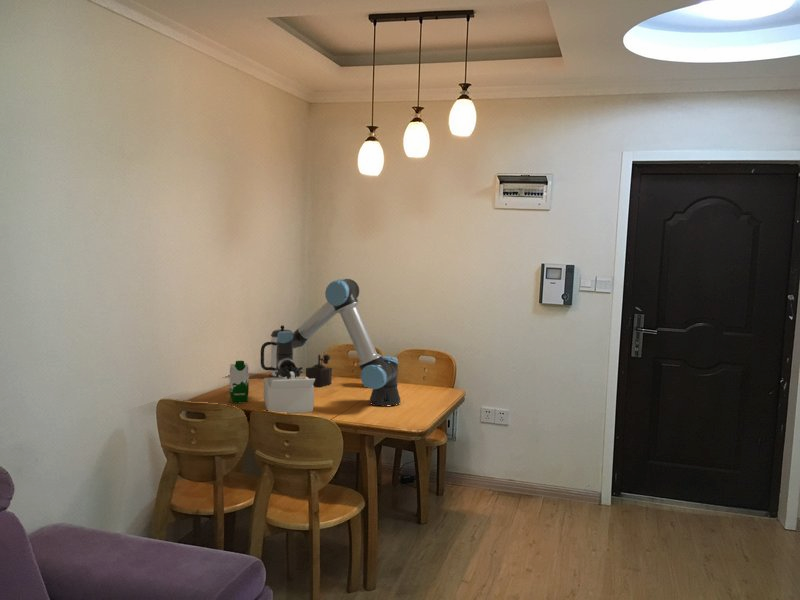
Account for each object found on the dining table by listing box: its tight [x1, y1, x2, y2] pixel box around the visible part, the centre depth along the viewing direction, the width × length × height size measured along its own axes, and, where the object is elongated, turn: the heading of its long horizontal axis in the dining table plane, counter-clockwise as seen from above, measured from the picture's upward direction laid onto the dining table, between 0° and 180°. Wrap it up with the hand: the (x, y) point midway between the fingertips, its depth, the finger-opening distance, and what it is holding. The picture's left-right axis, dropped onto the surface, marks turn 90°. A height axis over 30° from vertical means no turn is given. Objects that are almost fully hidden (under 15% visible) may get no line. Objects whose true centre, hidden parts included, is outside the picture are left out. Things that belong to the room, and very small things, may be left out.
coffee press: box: [260, 325, 294, 378], centre depth 376 cm, size 17×16×30 cm
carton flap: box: [270, 379, 315, 389], centre depth 296 cm, size 11×19×1 cm, turn 106°
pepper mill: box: [305, 354, 333, 388], centre depth 361 cm, size 16×11×18 cm
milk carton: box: [229, 360, 250, 404], centre depth 321 cm, size 9×9×20 cm
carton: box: [263, 376, 315, 414], centre depth 313 cm, size 22×21×12 cm
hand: (293, 377), depth 294 cm, fingers closed
